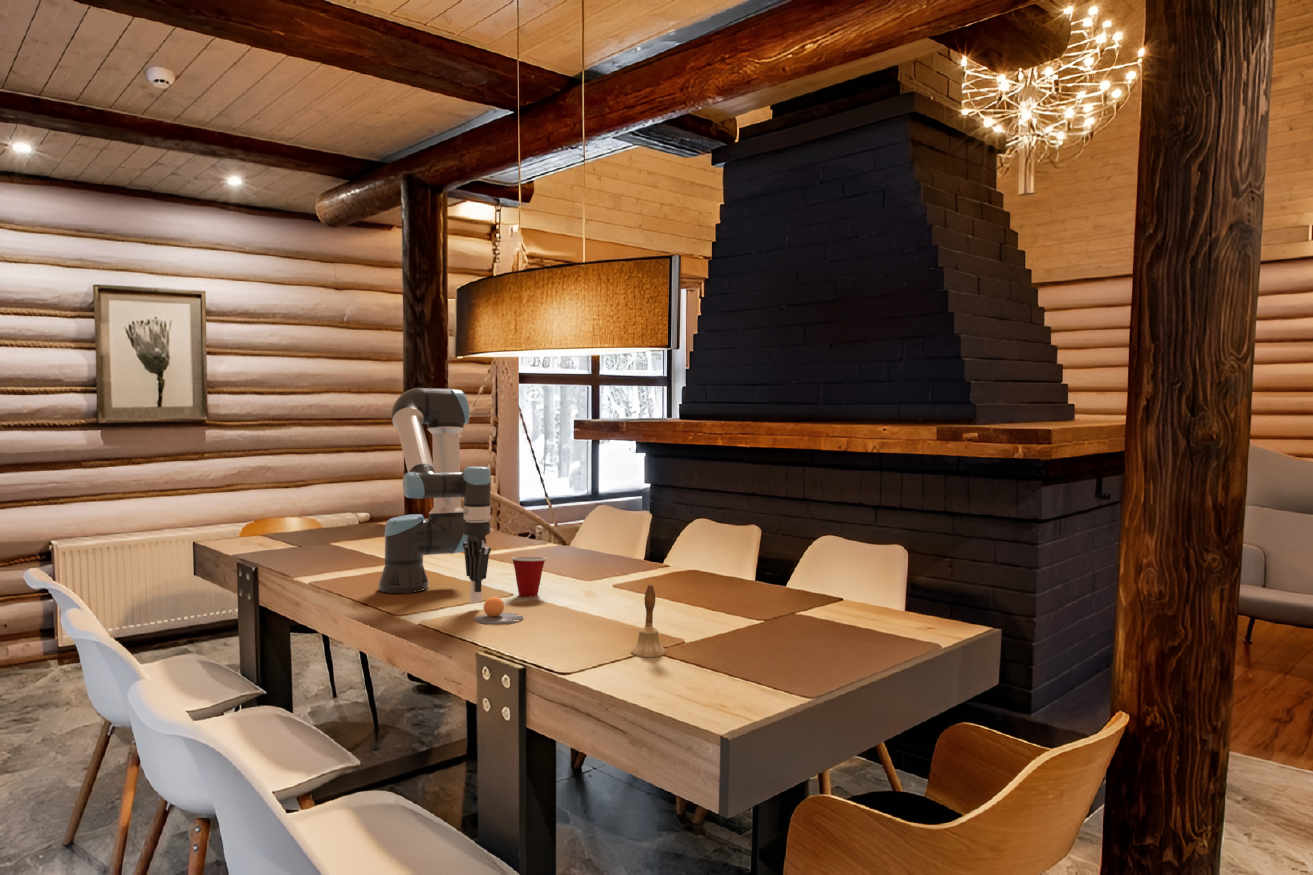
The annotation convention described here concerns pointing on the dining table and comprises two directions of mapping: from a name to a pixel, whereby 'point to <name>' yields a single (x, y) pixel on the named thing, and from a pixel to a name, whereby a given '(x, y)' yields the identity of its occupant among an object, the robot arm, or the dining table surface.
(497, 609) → the ball
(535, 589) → the plastic cup
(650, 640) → the hand bell
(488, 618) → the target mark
